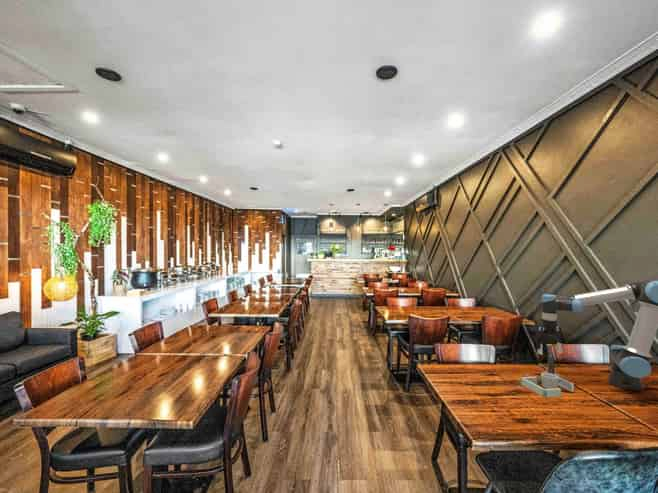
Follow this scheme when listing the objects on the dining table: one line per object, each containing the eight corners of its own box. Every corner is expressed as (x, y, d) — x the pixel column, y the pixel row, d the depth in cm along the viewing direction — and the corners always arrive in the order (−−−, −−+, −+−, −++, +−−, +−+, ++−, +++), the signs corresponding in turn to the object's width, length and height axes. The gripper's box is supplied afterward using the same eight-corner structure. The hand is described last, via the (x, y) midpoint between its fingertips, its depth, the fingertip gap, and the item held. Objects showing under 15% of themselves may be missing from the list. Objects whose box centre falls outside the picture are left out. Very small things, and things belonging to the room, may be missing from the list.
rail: (555, 378, 186) (555, 373, 187) (563, 381, 181) (562, 376, 181) (523, 380, 184) (522, 375, 184) (529, 383, 179) (529, 378, 179)
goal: (535, 383, 179) (535, 376, 180) (561, 396, 162) (561, 389, 162) (520, 384, 178) (520, 377, 178) (544, 397, 161) (544, 390, 161)
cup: (557, 386, 175) (557, 372, 175) (567, 392, 167) (566, 378, 167) (538, 386, 176) (537, 372, 176) (546, 392, 168) (546, 377, 168)
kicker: (550, 377, 187) (549, 353, 188) (580, 391, 168) (579, 364, 168) (542, 377, 187) (541, 353, 187) (571, 391, 167) (570, 364, 168)
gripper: (561, 317, 190) (562, 351, 189) (526, 318, 187) (527, 352, 186) (572, 320, 182) (573, 355, 182) (536, 321, 180) (536, 356, 179)
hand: (550, 353), depth 184 cm, fingers open, 13 cm apart
